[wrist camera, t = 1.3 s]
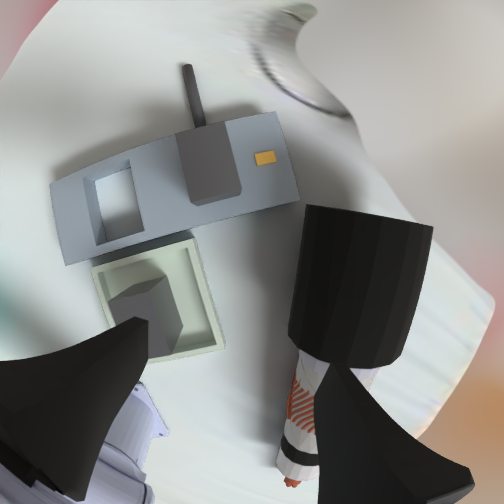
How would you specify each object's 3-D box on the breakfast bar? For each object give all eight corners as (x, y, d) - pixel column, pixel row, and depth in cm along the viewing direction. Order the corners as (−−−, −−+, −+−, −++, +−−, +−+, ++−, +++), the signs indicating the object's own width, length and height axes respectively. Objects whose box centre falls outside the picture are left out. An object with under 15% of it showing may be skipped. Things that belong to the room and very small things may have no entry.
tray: (132, 359, 25) (126, 367, 23) (98, 265, 24) (90, 268, 22) (225, 340, 26) (225, 348, 24) (195, 237, 24) (192, 238, 23)
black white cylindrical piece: (270, 447, 33) (240, 496, 23) (318, 205, 26) (290, 202, 17) (335, 465, 29) (317, 518, 20) (419, 223, 22) (450, 230, 13)
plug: (150, 333, 24) (130, 361, 18) (133, 284, 24) (107, 301, 18) (183, 326, 25) (171, 355, 19) (167, 275, 24) (148, 291, 18)
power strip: (77, 262, 24) (41, 273, 17) (57, 121, 22) (24, 102, 15) (293, 202, 25) (315, 195, 18) (250, 56, 23) (256, 18, 16)
